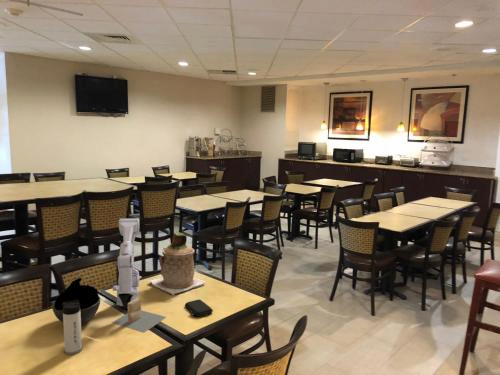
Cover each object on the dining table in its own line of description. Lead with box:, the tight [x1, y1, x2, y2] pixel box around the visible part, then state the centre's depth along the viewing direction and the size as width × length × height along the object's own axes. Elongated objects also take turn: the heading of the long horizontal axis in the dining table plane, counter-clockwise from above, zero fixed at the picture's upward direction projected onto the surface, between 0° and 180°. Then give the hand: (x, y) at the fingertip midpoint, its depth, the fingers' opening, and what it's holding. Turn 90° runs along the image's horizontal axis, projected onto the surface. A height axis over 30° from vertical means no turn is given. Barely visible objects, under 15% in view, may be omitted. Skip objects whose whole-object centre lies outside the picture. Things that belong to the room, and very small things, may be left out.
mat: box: [111, 309, 167, 334], centre depth 176 cm, size 19×16×1 cm
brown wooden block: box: [127, 298, 142, 323], centre depth 176 cm, size 3×6×9 cm, turn 155°
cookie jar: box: [148, 231, 206, 296], centre depth 218 cm, size 25×25×32 cm
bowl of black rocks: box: [51, 277, 101, 325], centre depth 172 cm, size 20×20×19 cm
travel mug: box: [62, 301, 83, 356], centre depth 150 cm, size 6×7×20 cm
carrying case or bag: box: [184, 299, 214, 318], centre depth 188 cm, size 11×3×15 cm
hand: (126, 307), depth 178 cm, fingers closed
